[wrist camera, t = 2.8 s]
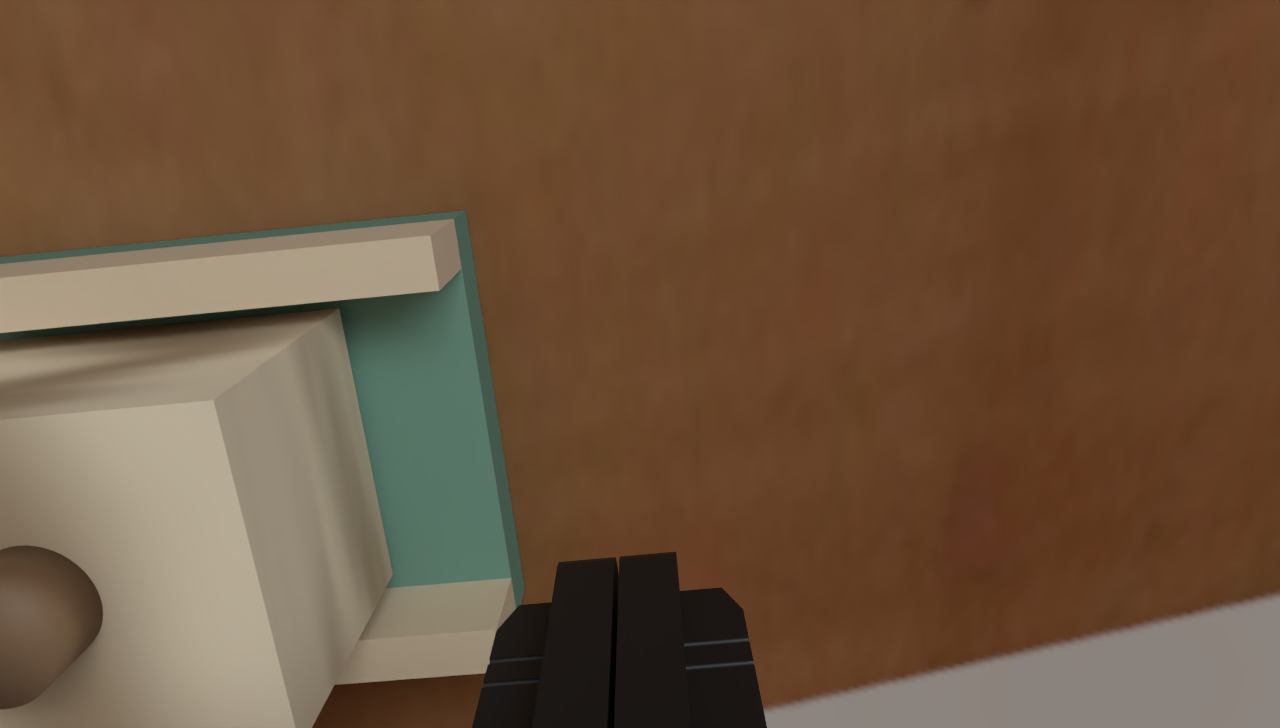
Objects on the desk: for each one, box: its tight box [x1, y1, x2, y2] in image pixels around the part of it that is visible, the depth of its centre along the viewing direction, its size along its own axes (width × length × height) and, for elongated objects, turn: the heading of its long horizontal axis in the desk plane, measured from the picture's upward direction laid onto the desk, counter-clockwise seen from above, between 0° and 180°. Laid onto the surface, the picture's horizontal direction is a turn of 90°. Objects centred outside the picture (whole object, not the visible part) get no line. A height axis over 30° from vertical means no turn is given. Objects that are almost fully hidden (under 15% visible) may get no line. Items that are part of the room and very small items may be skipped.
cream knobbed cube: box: [0, 308, 393, 728], centre depth 16 cm, size 7×6×7 cm
